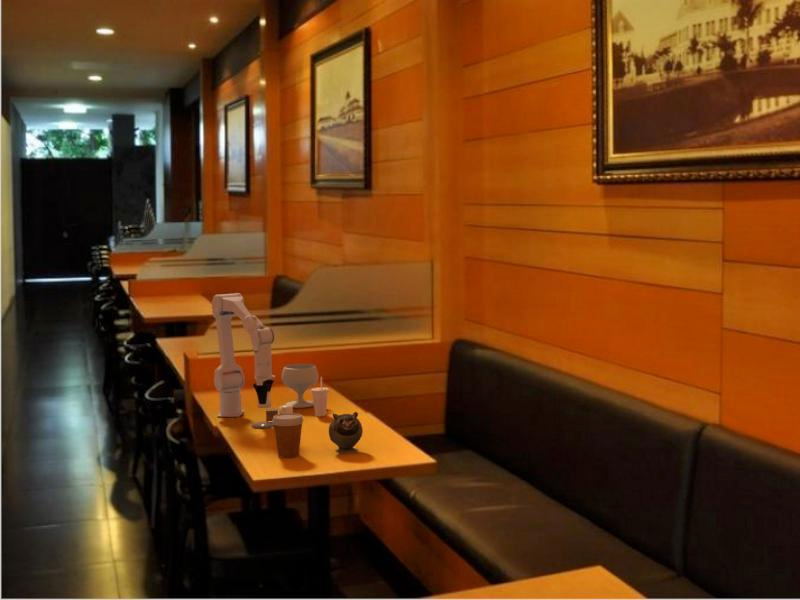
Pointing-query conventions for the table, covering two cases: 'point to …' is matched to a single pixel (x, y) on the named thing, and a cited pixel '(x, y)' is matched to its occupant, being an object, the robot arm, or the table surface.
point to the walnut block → (271, 413)
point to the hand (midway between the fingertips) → (264, 402)
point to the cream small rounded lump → (286, 409)
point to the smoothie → (320, 399)
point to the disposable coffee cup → (288, 433)
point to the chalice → (300, 381)
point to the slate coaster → (263, 424)
